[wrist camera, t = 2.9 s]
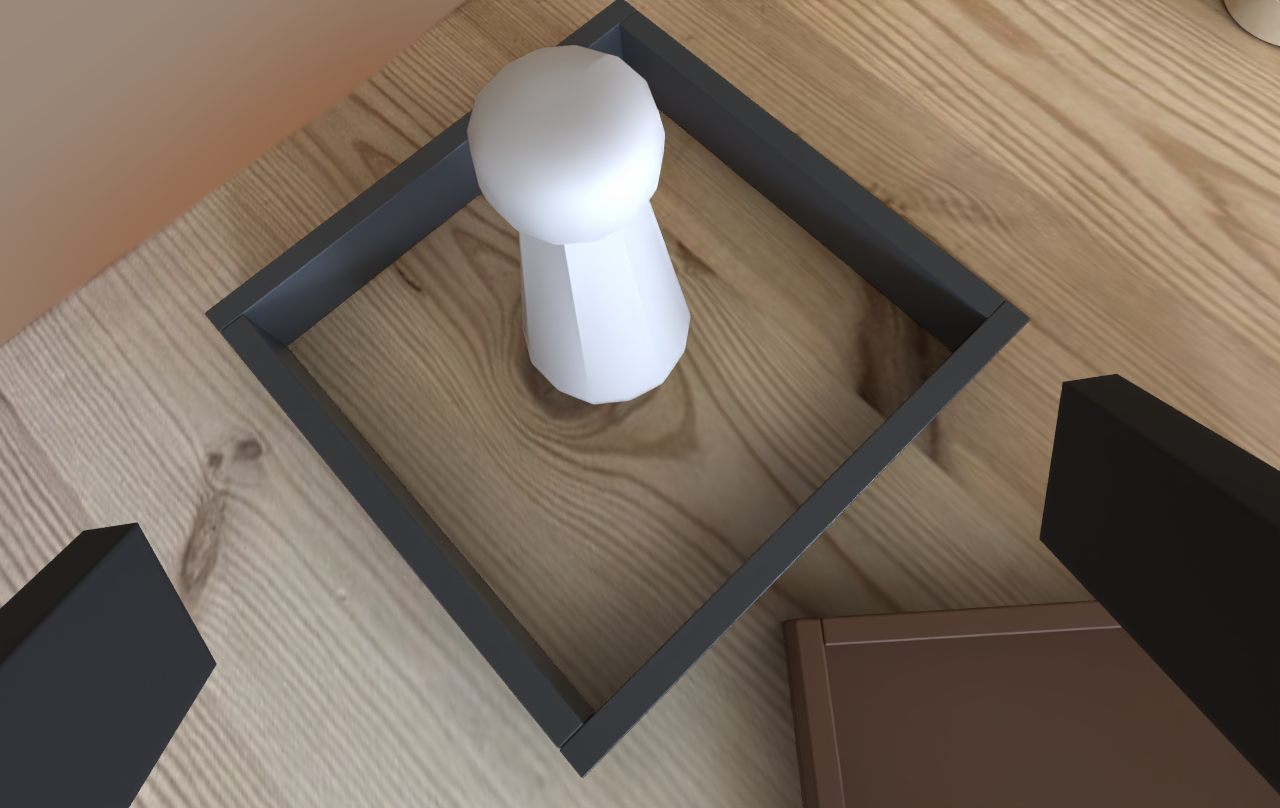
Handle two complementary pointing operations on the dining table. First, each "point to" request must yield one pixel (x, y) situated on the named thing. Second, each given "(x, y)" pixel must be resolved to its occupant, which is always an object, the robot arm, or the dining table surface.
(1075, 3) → the dining table surface
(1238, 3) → the candle
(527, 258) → the salt shaker
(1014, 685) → the tray
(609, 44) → the open gray frame
